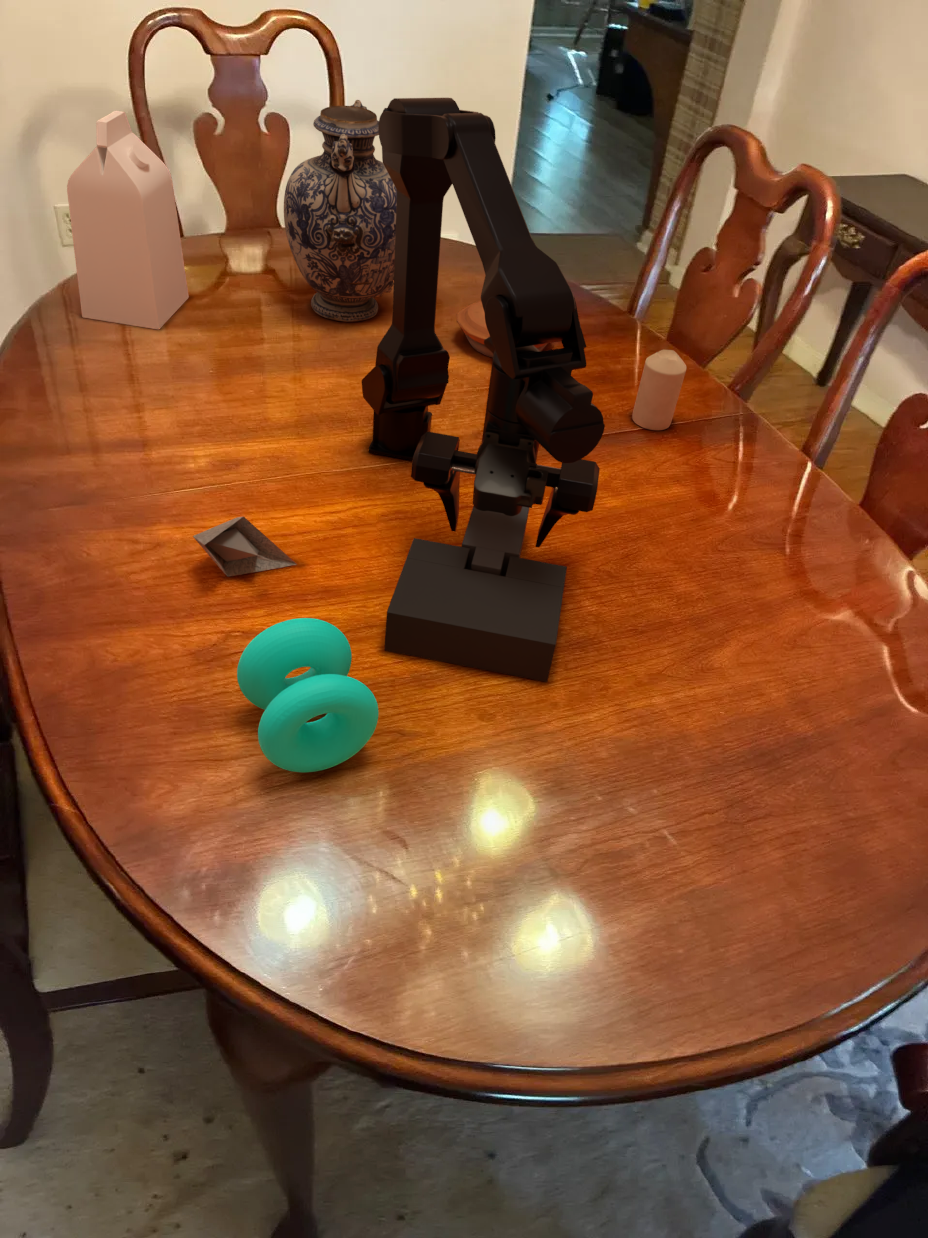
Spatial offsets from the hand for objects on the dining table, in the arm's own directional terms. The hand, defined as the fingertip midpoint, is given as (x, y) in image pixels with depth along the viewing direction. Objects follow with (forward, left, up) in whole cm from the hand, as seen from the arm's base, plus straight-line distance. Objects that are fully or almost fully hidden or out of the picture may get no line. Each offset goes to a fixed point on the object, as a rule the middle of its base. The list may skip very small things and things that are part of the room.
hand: (495, 537), depth 100 cm
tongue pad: (0, -1, -3) cm, 3 cm away
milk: (-61, +45, -3) cm, 76 cm away
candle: (+17, +38, -3) cm, 41 cm away
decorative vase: (-32, +57, -3) cm, 65 cm away
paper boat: (-25, -10, -3) cm, 27 cm away
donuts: (-12, -29, -3) cm, 32 cm away
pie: (-6, +54, -3) cm, 54 cm away
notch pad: (0, -11, -3) cm, 12 cm away
